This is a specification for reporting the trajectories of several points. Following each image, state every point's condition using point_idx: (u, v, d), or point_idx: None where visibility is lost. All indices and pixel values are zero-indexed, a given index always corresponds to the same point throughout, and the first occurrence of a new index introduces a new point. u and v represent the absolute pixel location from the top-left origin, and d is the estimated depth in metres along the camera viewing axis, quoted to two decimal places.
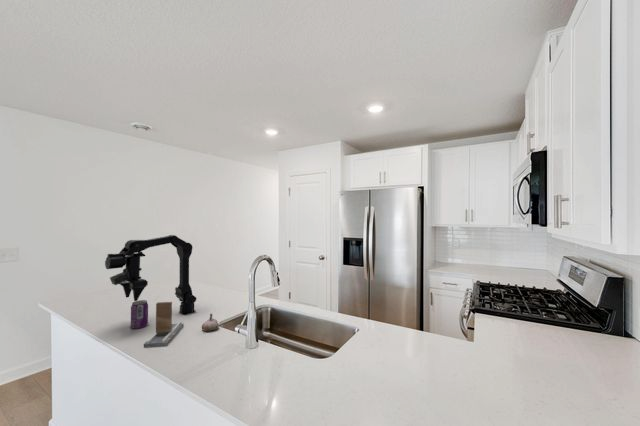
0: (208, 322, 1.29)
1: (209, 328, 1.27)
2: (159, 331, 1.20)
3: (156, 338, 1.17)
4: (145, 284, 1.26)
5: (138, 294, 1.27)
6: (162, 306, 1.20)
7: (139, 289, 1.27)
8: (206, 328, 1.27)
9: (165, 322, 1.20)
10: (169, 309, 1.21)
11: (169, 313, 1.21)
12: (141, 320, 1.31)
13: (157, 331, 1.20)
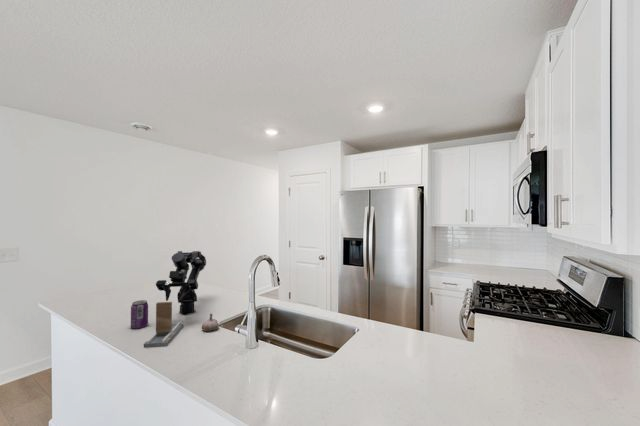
0: (208, 322, 1.29)
1: (209, 328, 1.27)
2: (159, 331, 1.20)
3: (156, 338, 1.17)
4: (197, 287, 1.40)
5: (183, 295, 1.34)
6: (162, 306, 1.20)
7: (185, 291, 1.36)
8: (206, 328, 1.27)
9: (165, 322, 1.20)
10: (169, 309, 1.21)
11: (169, 313, 1.21)
12: (141, 320, 1.31)
13: (157, 331, 1.20)
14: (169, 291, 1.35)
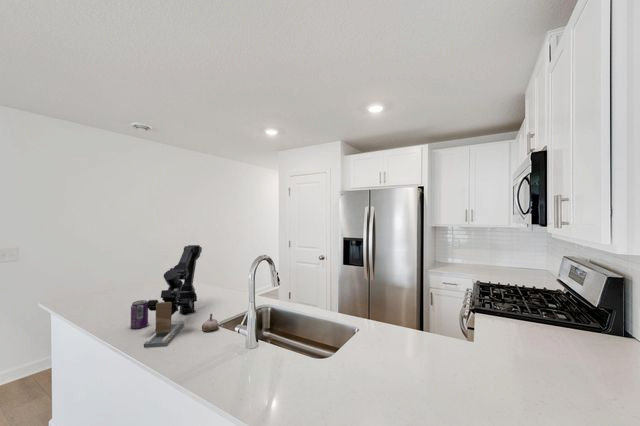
0: (208, 322, 1.29)
1: (209, 328, 1.27)
2: (159, 331, 1.20)
3: (156, 338, 1.17)
4: (191, 306, 1.30)
5: None
6: (162, 306, 1.20)
7: (172, 311, 1.26)
8: (206, 328, 1.27)
9: (164, 323, 1.20)
10: (169, 309, 1.20)
11: (169, 313, 1.20)
12: (141, 320, 1.31)
13: (157, 331, 1.20)
14: None
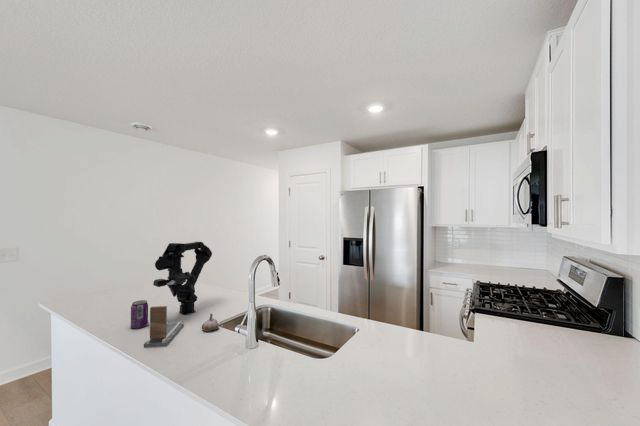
0: (208, 322, 1.29)
1: (209, 328, 1.27)
2: (153, 337, 1.14)
3: None
4: None
5: None
6: (156, 311, 1.15)
7: None
8: (206, 328, 1.27)
9: (159, 328, 1.15)
10: (164, 314, 1.15)
11: (164, 318, 1.15)
12: (141, 320, 1.31)
13: (151, 337, 1.14)
14: None
